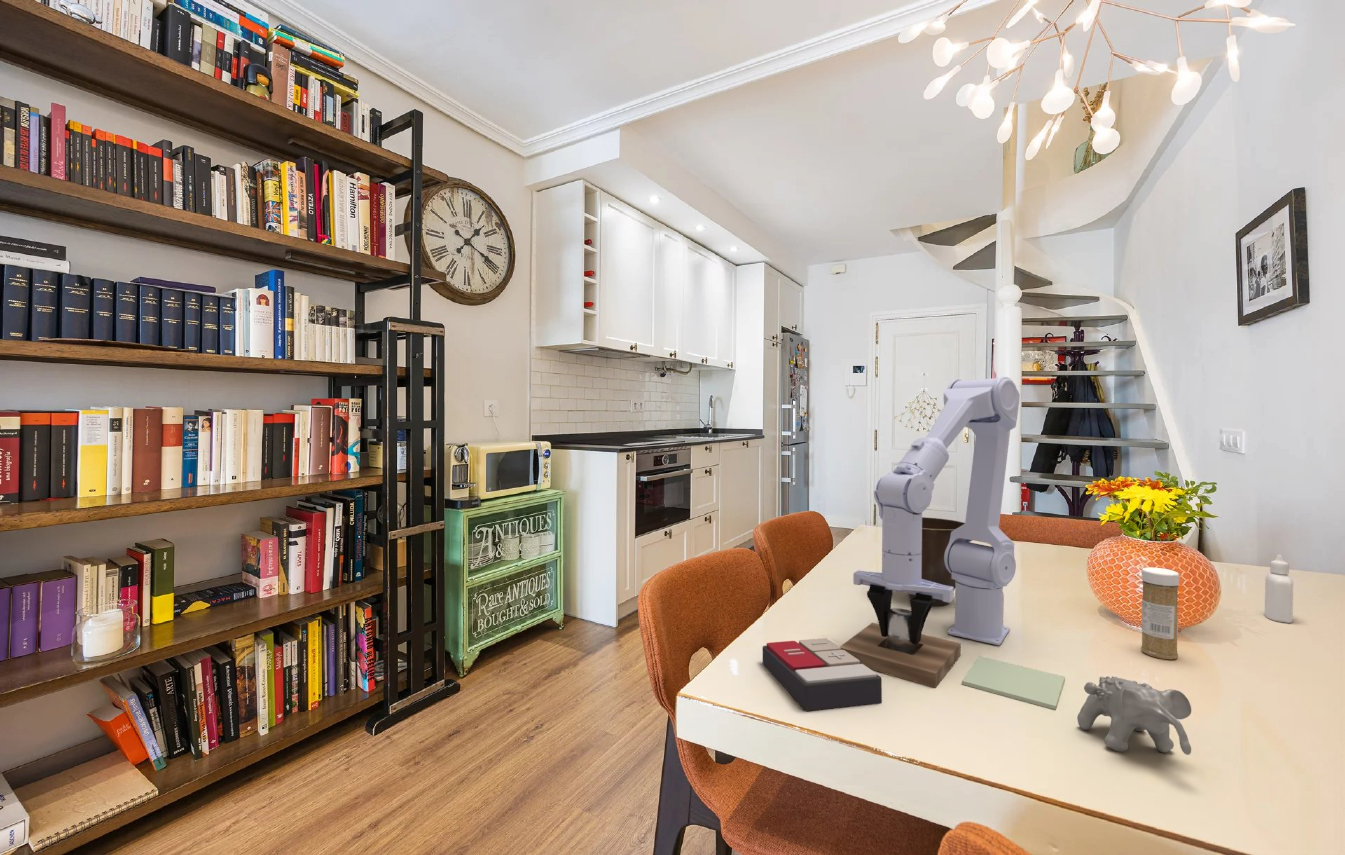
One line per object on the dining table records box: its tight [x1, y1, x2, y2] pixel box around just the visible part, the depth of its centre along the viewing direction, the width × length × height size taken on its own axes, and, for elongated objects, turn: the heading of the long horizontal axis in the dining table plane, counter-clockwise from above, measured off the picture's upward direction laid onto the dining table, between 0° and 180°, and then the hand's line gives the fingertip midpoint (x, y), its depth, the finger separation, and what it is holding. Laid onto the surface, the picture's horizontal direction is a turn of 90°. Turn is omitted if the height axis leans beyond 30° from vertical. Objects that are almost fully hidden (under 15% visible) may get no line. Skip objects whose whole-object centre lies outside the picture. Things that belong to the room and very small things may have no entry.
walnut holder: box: [839, 622, 962, 689], centre depth 89 cm, size 14×14×2 cm
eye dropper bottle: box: [1264, 554, 1294, 624], centre depth 108 cm, size 4×6×12 cm
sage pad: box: [961, 655, 1066, 711], centre depth 81 cm, size 11×11×1 cm
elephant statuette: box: [1076, 675, 1192, 756], centre depth 65 cm, size 9×12×8 cm
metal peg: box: [887, 607, 915, 655], centre depth 89 cm, size 4×4×7 cm
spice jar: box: [1140, 566, 1180, 660], centre depth 91 cm, size 5×5×14 cm
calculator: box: [762, 637, 883, 713], centre depth 81 cm, size 11×4×15 cm
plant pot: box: [907, 516, 965, 607], centre depth 118 cm, size 15×15×16 cm
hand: (900, 638), depth 89 cm, fingers closed on metal peg, 4 cm apart
